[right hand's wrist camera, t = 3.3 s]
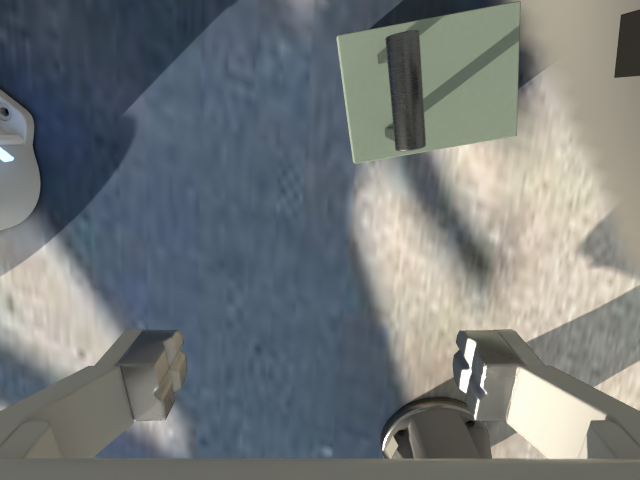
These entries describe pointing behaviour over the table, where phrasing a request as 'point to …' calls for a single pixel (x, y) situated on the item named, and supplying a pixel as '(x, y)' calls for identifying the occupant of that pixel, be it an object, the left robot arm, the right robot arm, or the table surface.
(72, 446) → the right robot arm
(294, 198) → the table surface
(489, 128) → the lid
